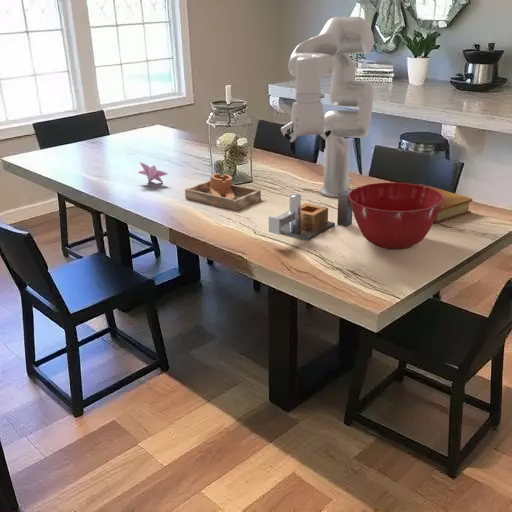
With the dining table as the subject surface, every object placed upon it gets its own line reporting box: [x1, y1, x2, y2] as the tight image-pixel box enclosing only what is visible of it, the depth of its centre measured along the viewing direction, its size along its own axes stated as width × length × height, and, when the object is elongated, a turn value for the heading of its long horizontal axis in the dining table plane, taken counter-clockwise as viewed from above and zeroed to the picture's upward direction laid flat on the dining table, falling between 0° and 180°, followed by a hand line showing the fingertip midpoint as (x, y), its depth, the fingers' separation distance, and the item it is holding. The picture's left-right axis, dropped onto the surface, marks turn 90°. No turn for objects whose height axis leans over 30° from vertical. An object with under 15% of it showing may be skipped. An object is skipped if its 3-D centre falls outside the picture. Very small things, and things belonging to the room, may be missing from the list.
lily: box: [137, 161, 168, 188], centre depth 257 cm, size 12×12×10 cm
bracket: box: [208, 173, 236, 206], centre depth 238 cm, size 18×8×7 cm, turn 10°
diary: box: [417, 183, 473, 225], centre depth 223 cm, size 23×19×6 cm
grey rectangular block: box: [336, 191, 353, 228], centre depth 210 cm, size 4×4×11 cm
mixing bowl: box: [349, 182, 444, 251], centre depth 194 cm, size 28×28×16 cm
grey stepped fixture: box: [268, 193, 336, 242], centre depth 203 cm, size 25×14×13 cm, turn 143°
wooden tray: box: [184, 179, 262, 211], centre depth 239 cm, size 15×25×4 cm, turn 53°
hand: (307, 152), depth 201 cm, fingers open, 9 cm apart
